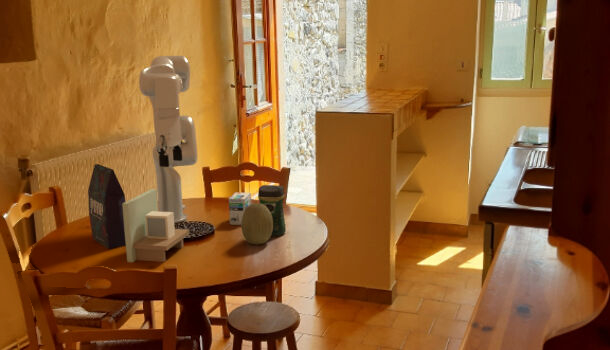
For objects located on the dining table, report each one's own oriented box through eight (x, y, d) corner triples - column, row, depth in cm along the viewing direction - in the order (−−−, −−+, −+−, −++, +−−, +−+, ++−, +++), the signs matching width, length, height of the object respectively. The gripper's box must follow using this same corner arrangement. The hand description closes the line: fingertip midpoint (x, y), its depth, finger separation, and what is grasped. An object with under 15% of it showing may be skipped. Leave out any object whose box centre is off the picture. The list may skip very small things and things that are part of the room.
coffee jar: (287, 231, 228) (286, 183, 224) (281, 237, 220) (280, 188, 216) (263, 229, 230) (262, 182, 226) (256, 235, 223) (255, 187, 218)
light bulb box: (245, 225, 236) (244, 199, 233) (229, 224, 237) (228, 198, 234) (252, 217, 246) (251, 192, 244) (236, 217, 247) (235, 192, 245)
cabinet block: (153, 233, 208) (152, 211, 206) (174, 234, 206) (173, 212, 204) (146, 238, 203) (144, 215, 201) (168, 239, 201) (166, 216, 199)
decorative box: (108, 249, 210) (101, 171, 204) (90, 238, 222) (83, 165, 216) (130, 244, 215) (124, 168, 209) (111, 234, 227) (105, 161, 221)
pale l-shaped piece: (155, 242, 217) (151, 189, 212) (191, 244, 214) (188, 190, 209) (127, 261, 198) (122, 203, 193) (166, 264, 195) (162, 205, 190)
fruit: (253, 236, 222) (252, 197, 218) (279, 240, 216) (278, 201, 213) (235, 245, 212) (234, 205, 209) (262, 250, 207) (261, 208, 203)
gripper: (169, 109, 207) (173, 157, 211) (144, 116, 191) (148, 168, 195) (189, 110, 206) (192, 158, 210) (166, 117, 189) (169, 169, 193)
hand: (171, 163), depth 202 cm, fingers open, 9 cm apart
